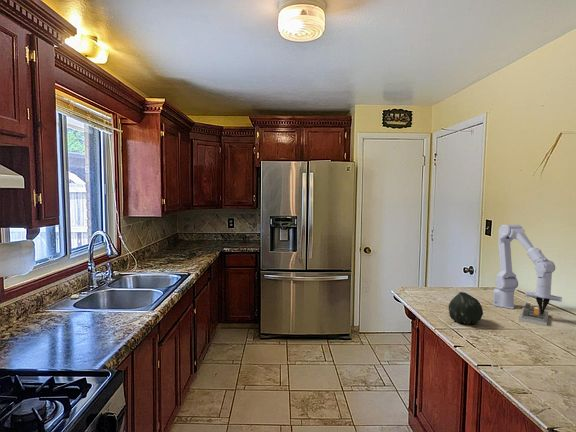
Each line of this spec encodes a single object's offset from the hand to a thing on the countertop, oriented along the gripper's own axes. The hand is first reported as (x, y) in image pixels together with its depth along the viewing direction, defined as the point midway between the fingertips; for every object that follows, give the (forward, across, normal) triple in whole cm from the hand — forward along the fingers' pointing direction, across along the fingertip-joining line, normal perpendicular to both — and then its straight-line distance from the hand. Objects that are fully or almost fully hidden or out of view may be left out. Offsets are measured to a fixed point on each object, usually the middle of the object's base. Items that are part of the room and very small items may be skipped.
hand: (542, 313), depth 180 cm
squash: (+3, -29, -28) cm, 40 cm away
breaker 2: (+1, -6, -6) cm, 8 cm away
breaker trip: (+1, -2, 0) cm, 3 cm away
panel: (+3, -3, 0) cm, 4 cm away
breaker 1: (+1, -6, +5) cm, 8 cm away
